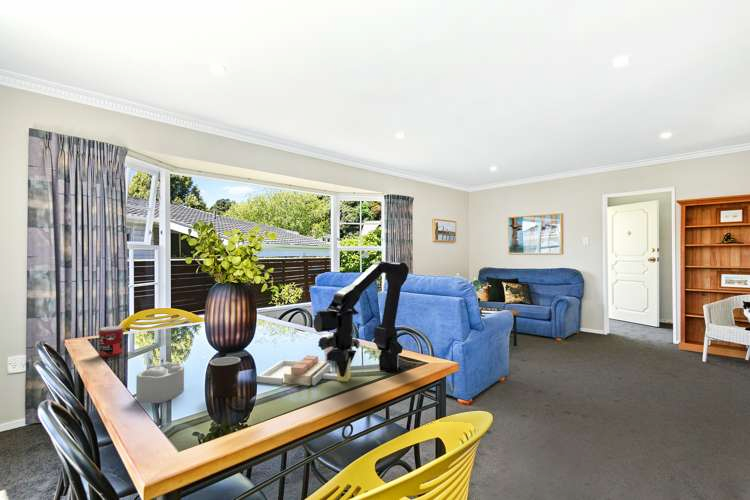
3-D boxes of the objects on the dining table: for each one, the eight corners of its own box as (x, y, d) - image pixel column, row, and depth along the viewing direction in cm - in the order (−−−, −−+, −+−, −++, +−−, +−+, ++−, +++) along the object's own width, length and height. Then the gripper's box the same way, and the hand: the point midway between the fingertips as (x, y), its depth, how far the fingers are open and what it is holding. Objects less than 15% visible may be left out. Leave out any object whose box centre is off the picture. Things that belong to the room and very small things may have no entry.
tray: (305, 366, 136) (305, 361, 136) (281, 384, 117) (281, 378, 117) (282, 364, 138) (283, 359, 138) (256, 382, 119) (256, 376, 119)
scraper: (354, 372, 130) (354, 352, 130) (342, 387, 115) (342, 365, 115) (327, 370, 132) (328, 350, 132) (312, 385, 117) (312, 363, 117)
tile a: (318, 361, 132) (318, 356, 132) (313, 365, 128) (313, 359, 128) (307, 360, 133) (307, 355, 133) (303, 364, 129) (303, 358, 129)
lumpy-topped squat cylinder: (130, 401, 104) (130, 371, 104) (163, 384, 117) (164, 357, 117) (162, 404, 102) (163, 373, 102) (193, 387, 115) (193, 359, 115)
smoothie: (339, 357, 148) (339, 323, 148) (336, 362, 141) (336, 326, 142) (323, 357, 148) (324, 322, 149) (319, 361, 142) (320, 325, 142)
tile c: (307, 370, 122) (307, 364, 122) (302, 374, 119) (302, 368, 119) (296, 369, 123) (296, 363, 123) (291, 373, 119) (291, 367, 119)
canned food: (94, 356, 147) (94, 328, 147) (113, 350, 155) (113, 325, 155) (108, 357, 145) (108, 330, 145) (127, 352, 153) (127, 326, 153)
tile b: (312, 365, 127) (312, 360, 127) (308, 369, 123) (308, 363, 123) (302, 365, 128) (302, 359, 128) (297, 368, 124) (297, 362, 124)
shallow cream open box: (326, 369, 133) (326, 361, 133) (309, 385, 117) (309, 376, 117) (303, 367, 134) (303, 359, 134) (283, 383, 119) (284, 373, 119)
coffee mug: (229, 401, 104) (229, 366, 104) (202, 398, 106) (203, 364, 106) (251, 386, 116) (251, 355, 116) (226, 384, 117) (227, 353, 117)
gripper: (330, 322, 134) (330, 364, 134) (311, 333, 116) (311, 382, 115) (360, 323, 131) (359, 366, 131) (345, 335, 113) (344, 385, 113)
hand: (344, 374), depth 123 cm, fingers closed on scraper, 3 cm apart
